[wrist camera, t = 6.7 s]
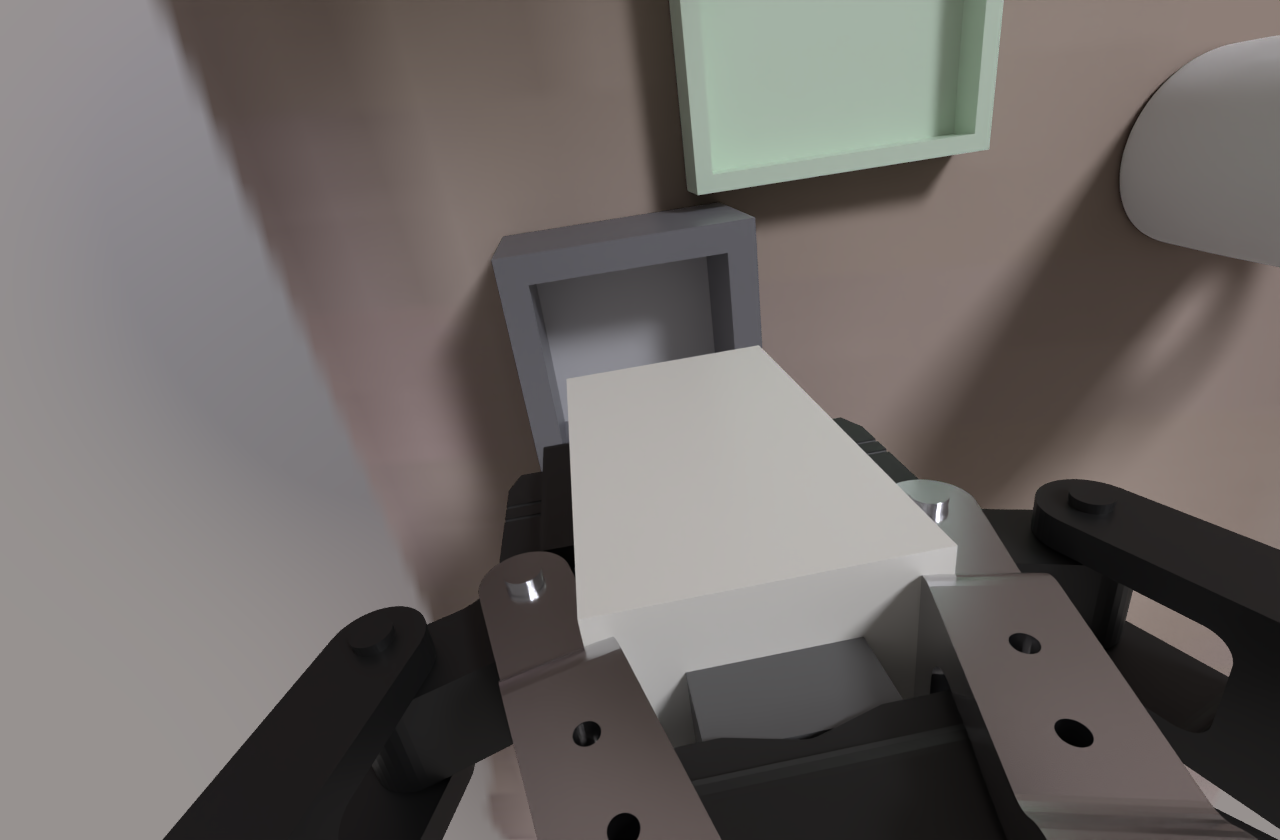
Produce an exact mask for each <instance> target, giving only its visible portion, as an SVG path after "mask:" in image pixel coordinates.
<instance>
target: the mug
mask: <svg viewBox="0 0 1280 840" xmlns="http://www.w3.org/2000/svg"><path fill="white" fill-rule="evenodd" d="M1120 194H1121V199H1122V203H1123V206H1124V209H1125V212H1126V214H1127V216H1128V217H1129V219H1130V221H1131V222H1132V223H1133V225H1134V226H1135V227H1136V228H1137V229H1138V230H1139V231H1141V232H1142V233H1144V234H1145V235H1147V236H1149V237H1151V238H1153V239H1155V240H1158V241H1161V242H1165V243H1169V244H1174V245H1178V246H1182V247H1187V248H1191V249H1195V250H1199V251H1204V252H1208V253H1213V254H1217V255H1222V256H1226V257H1231V258H1236V259H1241V260H1246V261H1251V262H1256V263H1261V264H1266V265H1271V266H1276V267H1280V35H1277V36H1272V37H1266V38H1261V39H1255V40H1250V41H1244V42H1239V43H1234V44H1229V45H1225V46H1222V47H1219V48H1216V49H1213V50H1211V51H1209V52H1206V53H1204V54H1202V55H1200V56H1198V57H1197V58H1195V59H1193V60H1192V61H1190V62H1189V63H1187V64H1186V65H1184V66H1183V67H1182V68H1180V69H1179V70H1178V71H1177V72H1176V73H1174V74H1173V75H1172V76H1171V77H1170V78H1169V79H1168V80H1167V81H1166V82H1165V83H1164V84H1163V85H1162V86H1161V87H1160V88H1159V89H1158V90H1157V92H1156V93H1155V94H1154V95H1153V96H1152V98H1151V99H1150V100H1149V102H1148V103H1147V104H1146V106H1145V107H1144V109H1143V110H1142V112H1141V114H1140V115H1139V117H1138V119H1137V121H1136V122H1135V124H1134V126H1133V128H1132V131H1131V133H1130V135H1129V138H1128V140H1127V143H1126V146H1125V149H1124V153H1123V157H1122V162H1121V168H1120Z"/></svg>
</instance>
